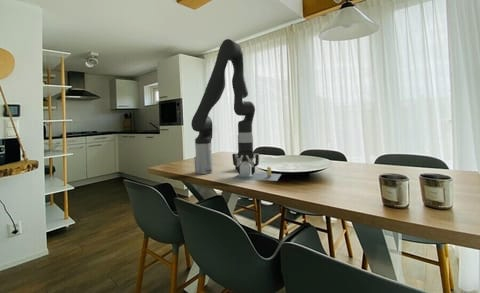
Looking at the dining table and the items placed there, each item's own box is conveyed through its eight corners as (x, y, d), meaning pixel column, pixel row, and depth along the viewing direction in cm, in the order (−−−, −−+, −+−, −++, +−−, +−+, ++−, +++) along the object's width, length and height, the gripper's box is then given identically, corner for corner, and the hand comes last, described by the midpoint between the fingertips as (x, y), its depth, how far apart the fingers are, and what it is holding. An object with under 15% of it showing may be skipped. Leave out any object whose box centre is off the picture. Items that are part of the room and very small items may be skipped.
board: (232, 181, 117) (232, 168, 116) (240, 175, 130) (240, 163, 129) (277, 183, 110) (277, 170, 109) (281, 176, 123) (281, 164, 122)
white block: (239, 176, 120) (239, 164, 119) (242, 174, 125) (242, 163, 124) (249, 177, 118) (249, 165, 118) (252, 174, 123) (251, 163, 123)
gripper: (229, 142, 118) (230, 174, 120) (257, 142, 114) (258, 176, 116) (234, 140, 125) (235, 171, 127) (260, 140, 121) (261, 172, 123)
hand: (246, 173), depth 121 cm, fingers open, 6 cm apart
